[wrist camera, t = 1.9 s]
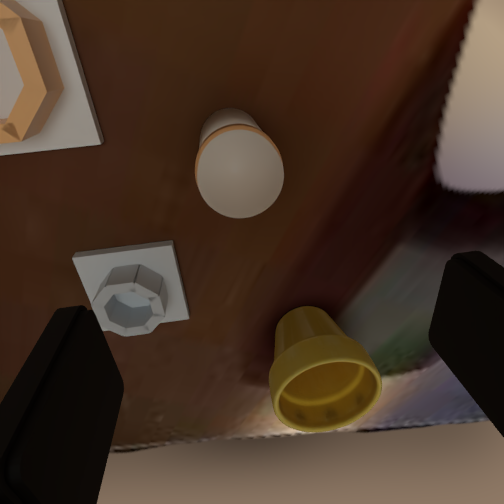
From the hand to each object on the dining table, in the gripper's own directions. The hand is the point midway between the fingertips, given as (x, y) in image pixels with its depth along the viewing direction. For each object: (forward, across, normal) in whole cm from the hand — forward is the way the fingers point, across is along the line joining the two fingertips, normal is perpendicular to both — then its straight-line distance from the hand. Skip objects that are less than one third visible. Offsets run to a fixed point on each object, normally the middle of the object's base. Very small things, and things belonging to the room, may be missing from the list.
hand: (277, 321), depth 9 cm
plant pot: (+22, -6, +22) cm, 32 cm away
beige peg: (+22, 0, 0) cm, 22 cm away
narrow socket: (+22, +11, +13) cm, 28 cm away
